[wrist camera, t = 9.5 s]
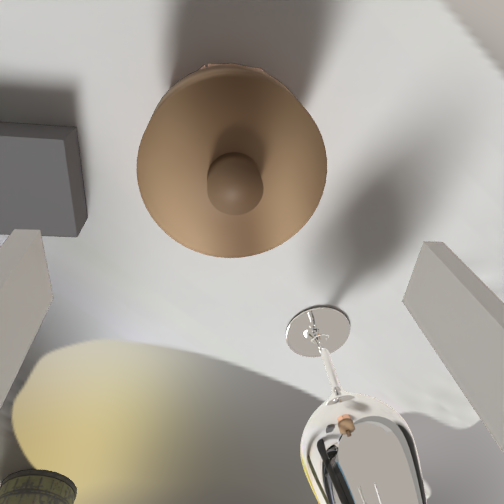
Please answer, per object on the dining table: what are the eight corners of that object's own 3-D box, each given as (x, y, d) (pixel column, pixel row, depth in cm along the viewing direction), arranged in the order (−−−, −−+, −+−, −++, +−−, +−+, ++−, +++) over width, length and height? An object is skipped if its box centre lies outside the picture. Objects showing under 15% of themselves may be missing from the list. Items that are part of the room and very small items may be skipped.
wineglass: (296, 290, 38) (356, 491, 22) (373, 309, 40) (477, 504, 24) (264, 353, 41) (297, 561, 26) (336, 367, 44) (406, 567, 28)
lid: (149, 222, 27) (136, 270, 22) (142, 56, 22) (125, 72, 17) (298, 228, 28) (315, 275, 24) (324, 72, 23) (354, 92, 19)
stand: (-10, 213, 31) (-29, 233, 29) (-34, 119, 27) (-59, 132, 25) (87, 218, 32) (77, 237, 29) (76, 127, 28) (63, 139, 26)
